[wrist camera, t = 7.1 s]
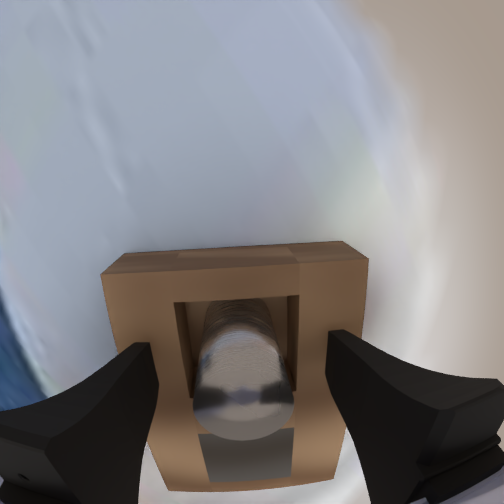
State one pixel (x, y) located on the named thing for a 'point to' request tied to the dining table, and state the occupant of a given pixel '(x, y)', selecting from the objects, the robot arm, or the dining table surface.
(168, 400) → the block
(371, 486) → the robot arm
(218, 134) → the dining table surface
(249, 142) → the dining table surface
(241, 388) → the pin
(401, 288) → the dining table surface
